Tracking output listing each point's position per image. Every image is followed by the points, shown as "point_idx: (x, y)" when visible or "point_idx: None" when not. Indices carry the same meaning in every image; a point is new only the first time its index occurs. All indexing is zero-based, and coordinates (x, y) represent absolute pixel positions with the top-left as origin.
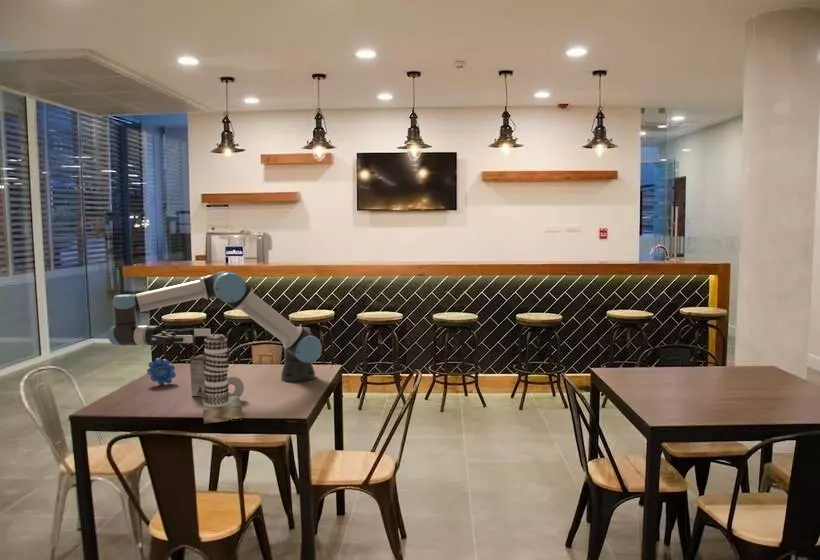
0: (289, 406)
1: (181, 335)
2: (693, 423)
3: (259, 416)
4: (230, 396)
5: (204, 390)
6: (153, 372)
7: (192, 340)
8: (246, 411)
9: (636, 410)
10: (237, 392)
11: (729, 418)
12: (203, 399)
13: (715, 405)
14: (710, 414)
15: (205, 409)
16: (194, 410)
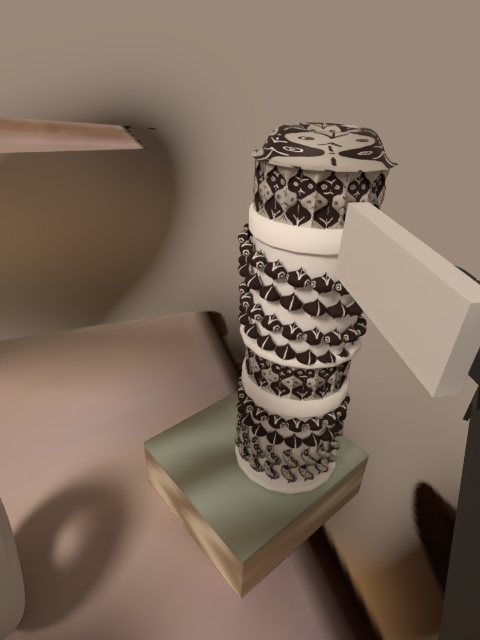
0: (101, 364)
1: (426, 254)
2: (132, 141)
3: (217, 387)
4: (19, 571)
5: (334, 432)
6: None
7: (343, 254)
8: None
9: (94, 149)
10: (9, 527)
11: (114, 135)
12: (243, 554)
13: (75, 135)
14: (104, 137)
15: (361, 450)
16: None
